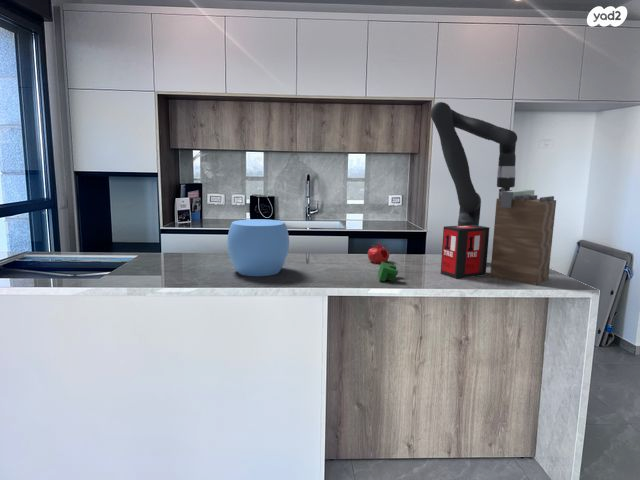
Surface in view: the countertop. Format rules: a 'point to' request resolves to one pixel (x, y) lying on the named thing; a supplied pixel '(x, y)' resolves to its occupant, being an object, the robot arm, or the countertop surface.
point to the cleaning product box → (464, 251)
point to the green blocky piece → (387, 272)
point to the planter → (258, 246)
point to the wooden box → (523, 239)
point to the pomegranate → (378, 254)
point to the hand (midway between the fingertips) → (504, 212)
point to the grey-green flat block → (513, 196)
